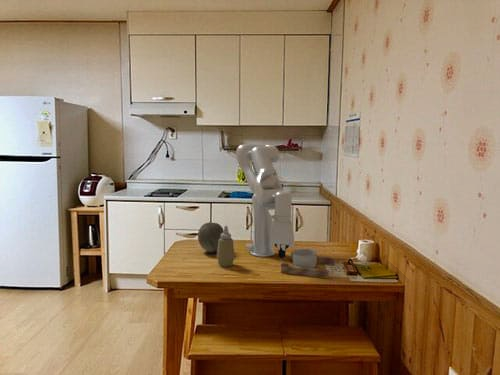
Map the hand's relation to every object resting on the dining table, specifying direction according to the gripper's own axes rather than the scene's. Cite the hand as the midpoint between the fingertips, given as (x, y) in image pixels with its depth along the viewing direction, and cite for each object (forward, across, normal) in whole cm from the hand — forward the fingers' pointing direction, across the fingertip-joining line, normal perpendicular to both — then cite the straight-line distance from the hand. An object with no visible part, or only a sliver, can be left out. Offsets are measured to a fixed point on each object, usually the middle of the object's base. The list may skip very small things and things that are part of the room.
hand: (281, 258), depth 177 cm
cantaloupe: (+3, -38, +7) cm, 39 cm away
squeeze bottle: (+3, -24, -10) cm, 26 cm away
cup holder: (+3, +12, 0) cm, 13 cm away
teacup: (+3, +10, 0) cm, 11 cm away
